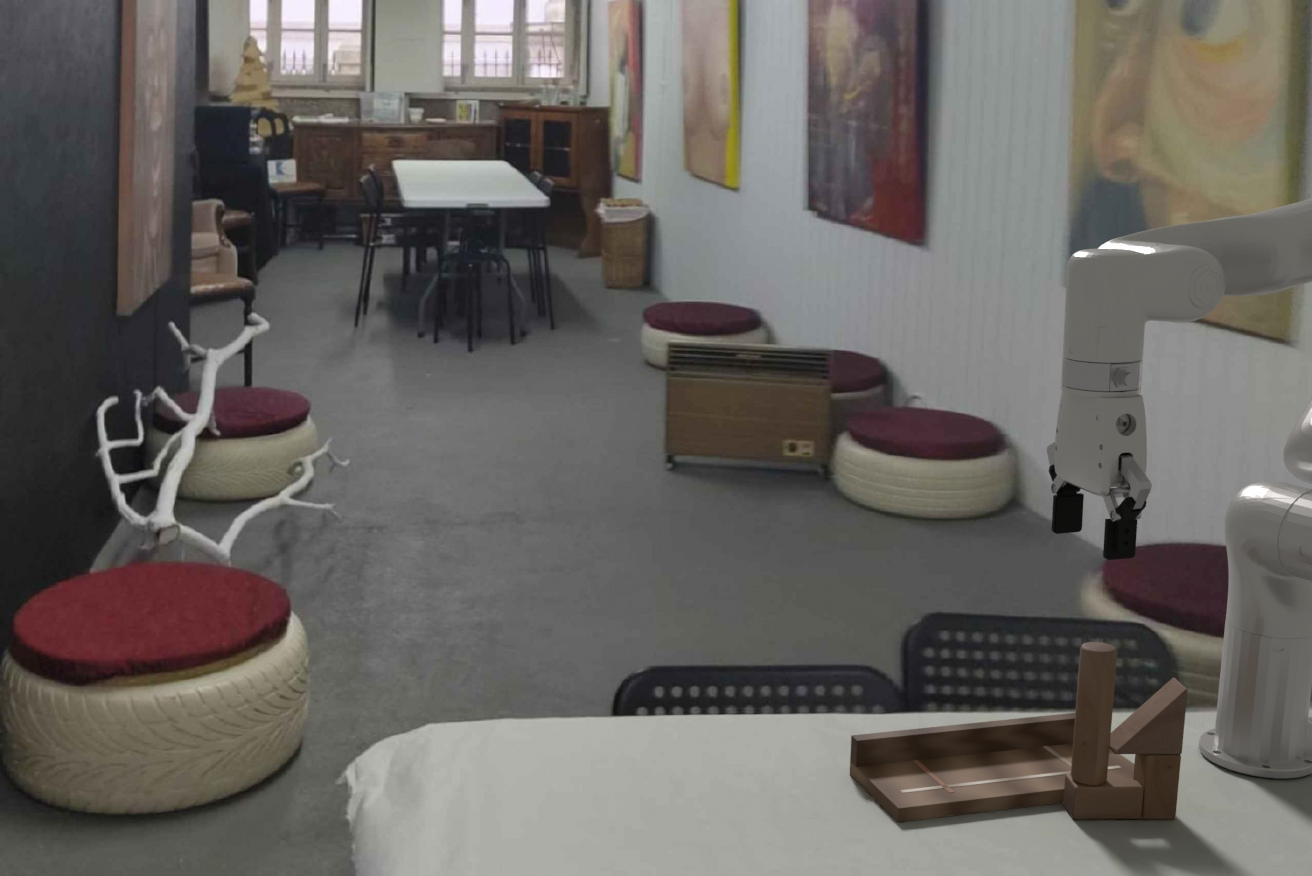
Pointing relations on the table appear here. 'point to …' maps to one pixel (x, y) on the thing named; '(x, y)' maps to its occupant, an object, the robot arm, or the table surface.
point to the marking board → (969, 766)
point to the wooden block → (1123, 746)
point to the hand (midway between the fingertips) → (1092, 544)
